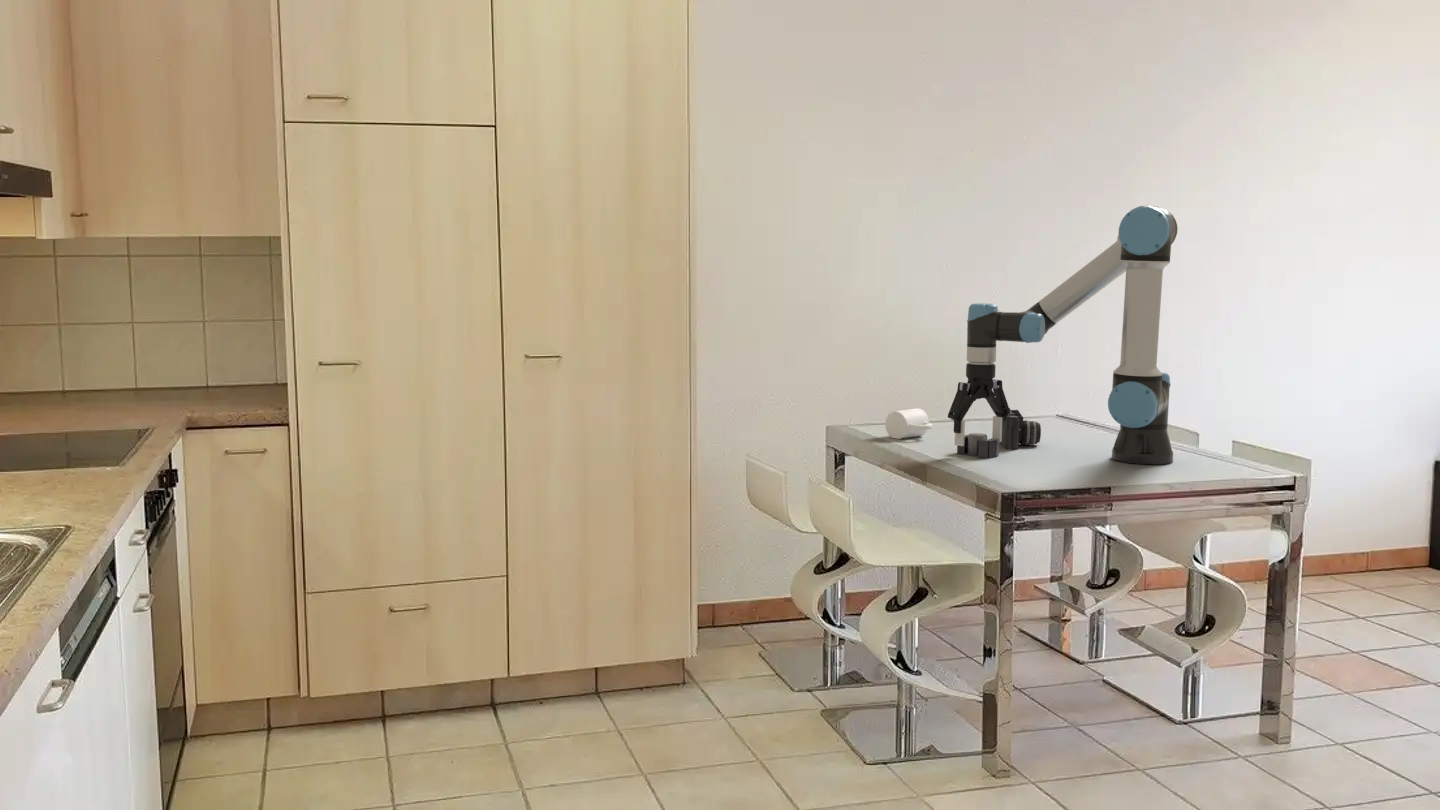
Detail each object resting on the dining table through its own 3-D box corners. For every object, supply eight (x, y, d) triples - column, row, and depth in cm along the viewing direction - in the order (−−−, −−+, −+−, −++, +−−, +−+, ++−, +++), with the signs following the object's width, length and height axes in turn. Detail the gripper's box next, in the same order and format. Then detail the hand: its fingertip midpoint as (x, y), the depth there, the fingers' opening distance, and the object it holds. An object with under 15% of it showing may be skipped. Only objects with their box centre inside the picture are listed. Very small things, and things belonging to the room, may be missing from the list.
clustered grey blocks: (1002, 456, 347) (1003, 439, 346) (981, 458, 343) (982, 441, 342) (972, 450, 356) (973, 433, 355) (952, 452, 352) (952, 436, 351)
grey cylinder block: (990, 455, 349) (991, 434, 348) (976, 456, 346) (977, 436, 345) (977, 452, 353) (977, 432, 352) (963, 454, 350) (964, 433, 349)
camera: (1044, 450, 357) (1046, 414, 356) (1004, 450, 358) (1005, 413, 356) (1034, 442, 371) (1035, 406, 370) (995, 441, 372) (996, 406, 370)
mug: (884, 437, 377) (885, 409, 376) (907, 434, 384) (908, 406, 383) (917, 442, 368) (917, 414, 367) (940, 439, 375) (940, 411, 374)
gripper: (1004, 359, 356) (1001, 437, 359) (935, 364, 342) (933, 445, 345) (1025, 361, 350) (1022, 441, 352) (955, 366, 336) (953, 449, 339)
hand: (978, 443), depth 349 cm, fingers open, 13 cm apart
